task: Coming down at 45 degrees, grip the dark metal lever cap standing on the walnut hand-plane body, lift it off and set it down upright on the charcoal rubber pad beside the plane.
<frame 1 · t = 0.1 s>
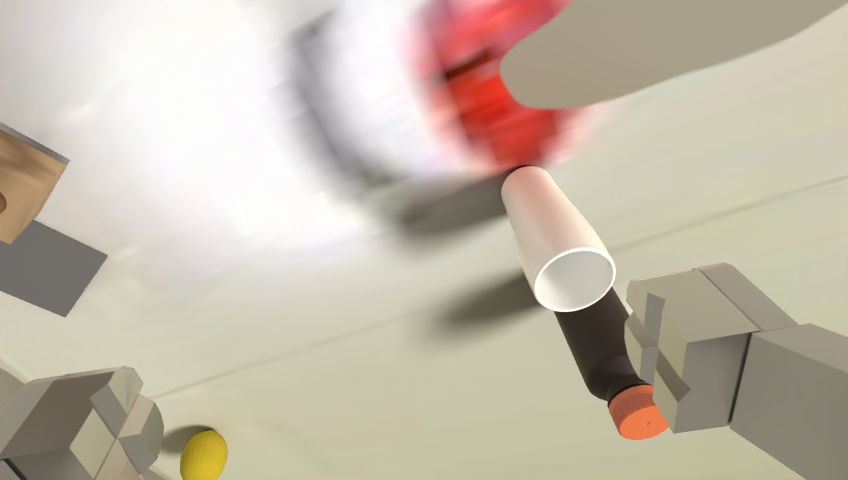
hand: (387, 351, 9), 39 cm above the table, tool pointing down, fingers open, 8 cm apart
bottle: (569, 274, 61), on the table
pad: (36, 262, 52), on the table
lemon: (211, 429, 71), on the table
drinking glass: (524, 186, 53), on the table
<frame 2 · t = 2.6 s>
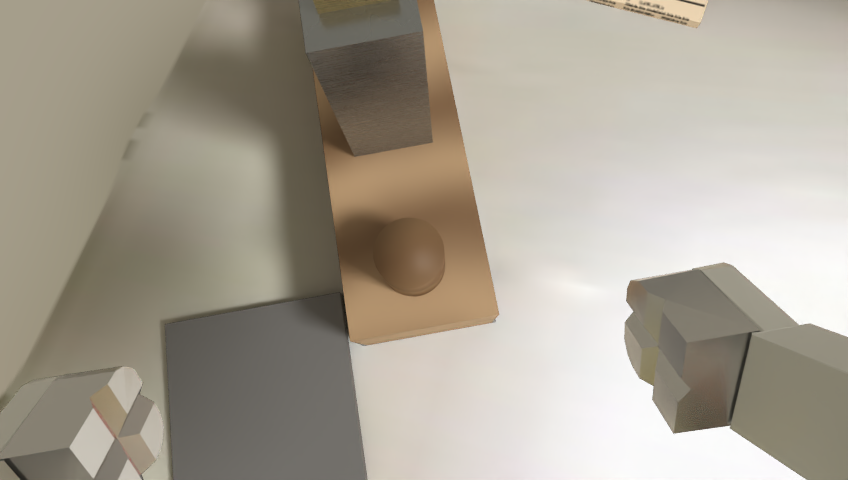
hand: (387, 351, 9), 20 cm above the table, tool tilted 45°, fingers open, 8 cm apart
pad: (264, 399, 28), on the table
plane body: (397, 152, 31), on the table
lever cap: (387, 114, 27), point 5 cm above the table, touching plane body
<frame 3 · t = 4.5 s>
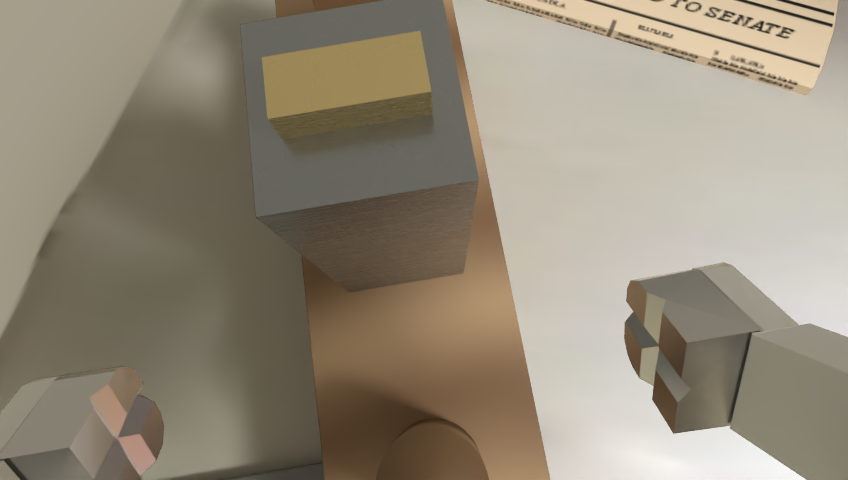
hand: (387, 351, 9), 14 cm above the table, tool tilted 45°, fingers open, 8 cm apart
plane body: (408, 257, 23), on the table
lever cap: (397, 227, 18), point 5 cm above the table, touching plane body
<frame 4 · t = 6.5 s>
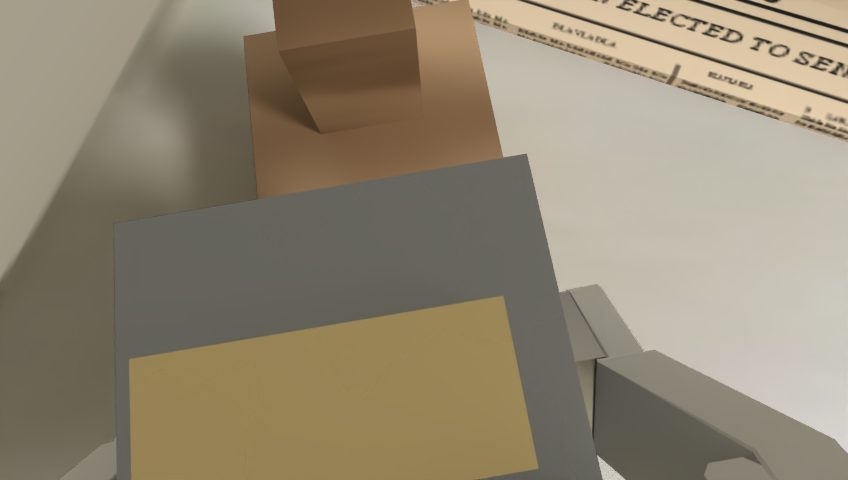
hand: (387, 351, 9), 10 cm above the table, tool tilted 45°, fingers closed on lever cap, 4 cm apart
newspaper: (630, 10, 22), on the table
plane body: (420, 381, 18), on the table
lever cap: (411, 384, 13), point 5 cm above the table, touching gripper, plane body
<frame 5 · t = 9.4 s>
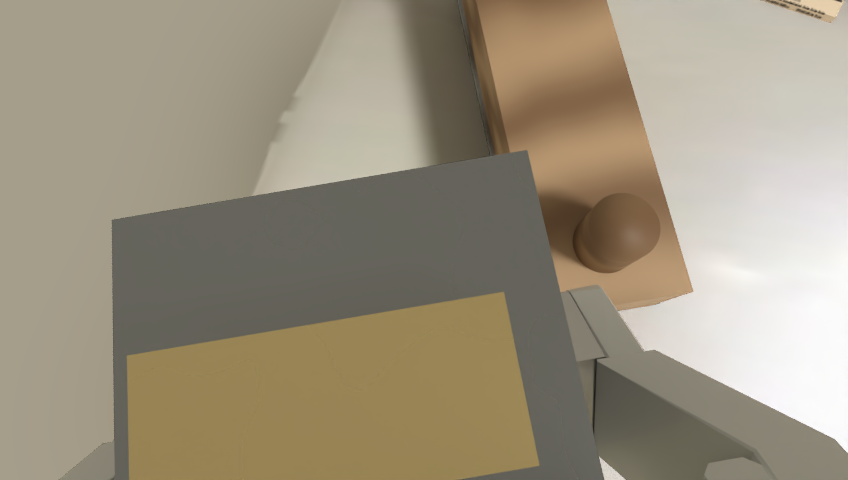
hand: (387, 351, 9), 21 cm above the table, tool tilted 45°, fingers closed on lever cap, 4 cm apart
plane body: (547, 138, 32), on the table
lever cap: (411, 382, 13), point 16 cm above the table, touching gripper
when the fingers open (7 cm above the table, at t = 12.3 s): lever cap drops 1 cm, resting on pad.
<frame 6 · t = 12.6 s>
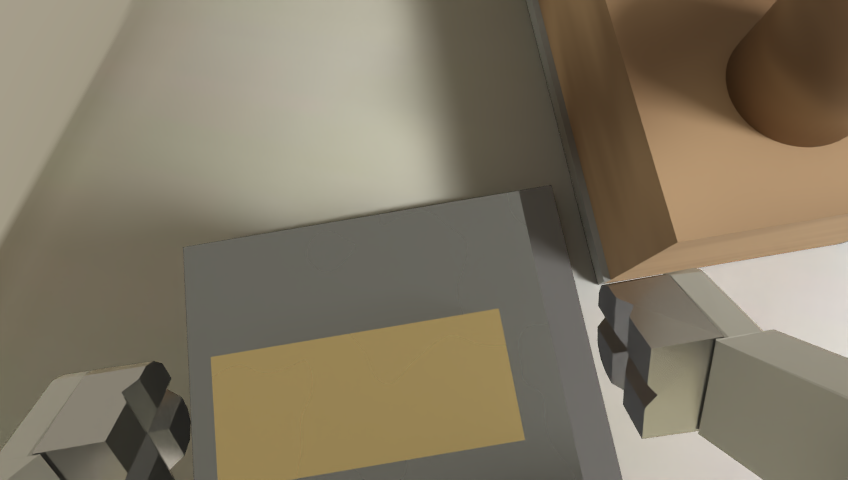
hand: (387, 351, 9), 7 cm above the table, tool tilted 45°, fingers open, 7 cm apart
pad: (414, 383, 15), on the table
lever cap: (417, 381, 14), point 1 cm above the table, touching pad
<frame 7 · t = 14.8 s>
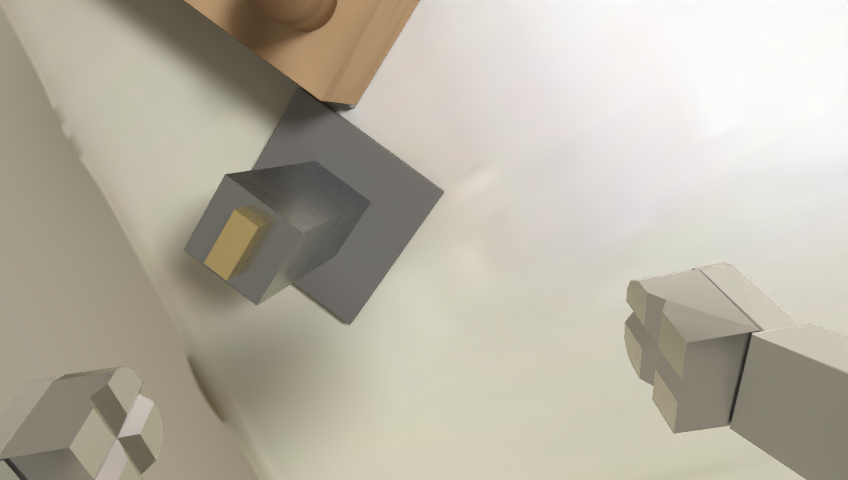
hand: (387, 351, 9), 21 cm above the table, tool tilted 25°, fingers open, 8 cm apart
pad: (329, 209, 31), on the table
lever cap: (325, 209, 30), point 1 cm above the table, touching pad
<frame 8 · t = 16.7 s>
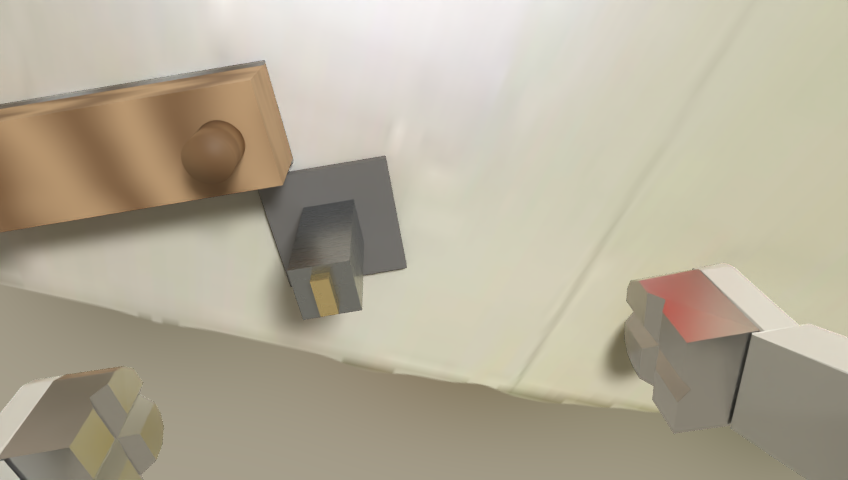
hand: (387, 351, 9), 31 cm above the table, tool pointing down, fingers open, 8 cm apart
pad: (335, 223, 42), on the table
plane body: (128, 138, 37), on the table
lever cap: (334, 225, 42), point 1 cm above the table, touching pad
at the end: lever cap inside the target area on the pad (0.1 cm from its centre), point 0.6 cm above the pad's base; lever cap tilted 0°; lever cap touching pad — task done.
